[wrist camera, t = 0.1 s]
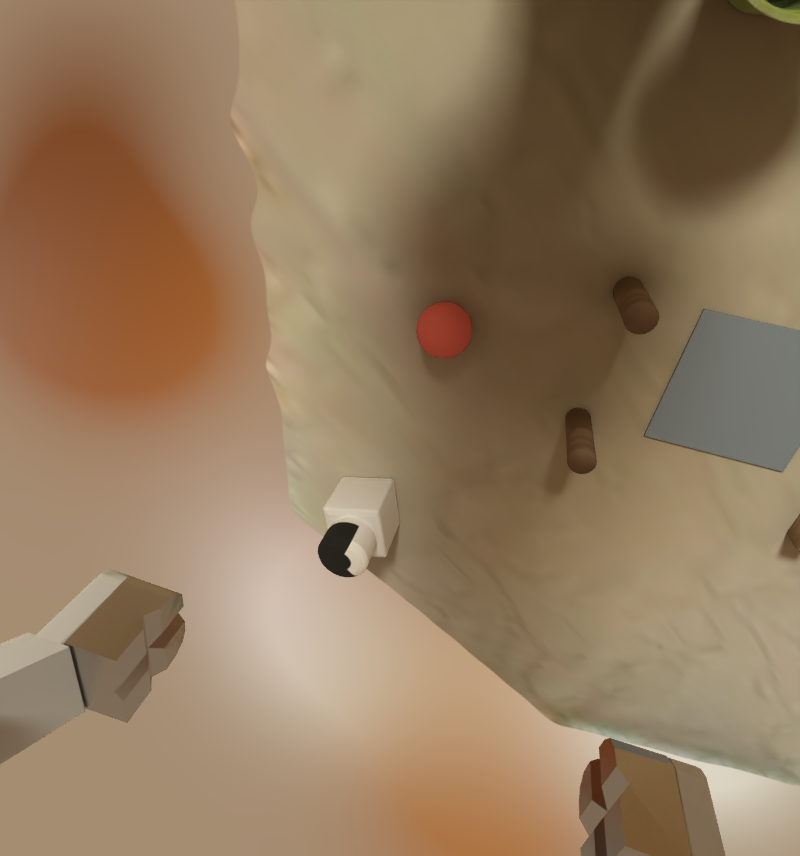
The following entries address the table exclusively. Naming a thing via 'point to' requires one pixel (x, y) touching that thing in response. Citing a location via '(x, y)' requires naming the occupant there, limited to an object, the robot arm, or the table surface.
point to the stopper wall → (795, 533)
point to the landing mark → (735, 392)
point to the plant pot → (771, 9)
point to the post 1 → (580, 441)
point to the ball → (444, 330)
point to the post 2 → (635, 306)
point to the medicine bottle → (358, 524)
